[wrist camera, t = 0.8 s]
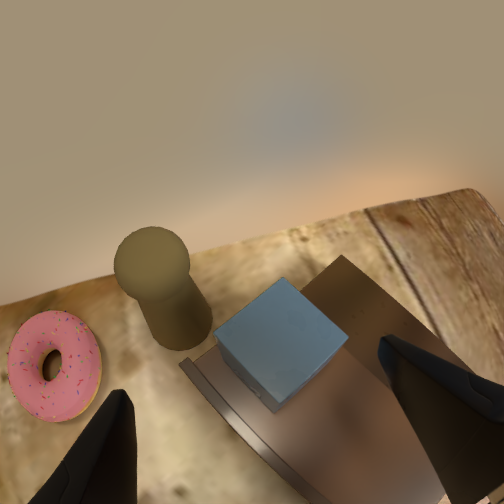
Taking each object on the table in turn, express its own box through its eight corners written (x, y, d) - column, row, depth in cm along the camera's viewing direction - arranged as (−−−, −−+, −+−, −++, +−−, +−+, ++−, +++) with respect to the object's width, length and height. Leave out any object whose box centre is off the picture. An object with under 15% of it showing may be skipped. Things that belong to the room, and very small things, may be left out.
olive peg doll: (186, 363, 25) (146, 310, 16) (136, 326, 27) (84, 260, 18) (225, 311, 28) (211, 235, 19) (175, 280, 30) (144, 201, 21)
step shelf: (472, 395, 21) (522, 374, 15) (360, 538, 15) (395, 563, 9) (334, 271, 30) (353, 221, 24) (198, 386, 24) (177, 364, 18)
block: (328, 361, 19) (349, 336, 15) (273, 413, 17) (279, 404, 13) (277, 312, 21) (282, 275, 17) (221, 358, 19) (212, 332, 15)
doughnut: (86, 445, 20) (61, 442, 16) (10, 392, 21) (-15, 381, 18) (126, 342, 26) (108, 325, 22) (48, 307, 28) (27, 287, 24)
